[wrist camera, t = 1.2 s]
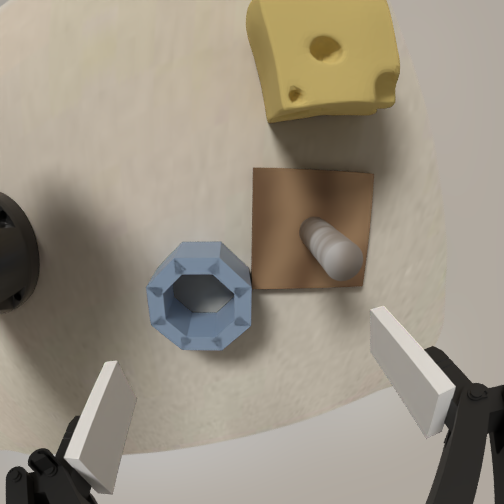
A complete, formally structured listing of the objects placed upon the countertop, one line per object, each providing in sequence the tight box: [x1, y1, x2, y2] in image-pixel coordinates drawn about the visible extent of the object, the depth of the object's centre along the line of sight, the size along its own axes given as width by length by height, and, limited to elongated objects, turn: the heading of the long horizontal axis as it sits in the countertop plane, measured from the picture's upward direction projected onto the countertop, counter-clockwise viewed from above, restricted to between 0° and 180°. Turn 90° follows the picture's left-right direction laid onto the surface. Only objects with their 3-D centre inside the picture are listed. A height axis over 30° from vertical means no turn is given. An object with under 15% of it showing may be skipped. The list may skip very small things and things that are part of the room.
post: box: [251, 168, 374, 289], centre depth 27 cm, size 12×12×10 cm
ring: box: [146, 242, 252, 350], centre depth 31 cm, size 9×9×5 cm
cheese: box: [246, 0, 400, 123], centre depth 22 cm, size 10×11×10 cm
